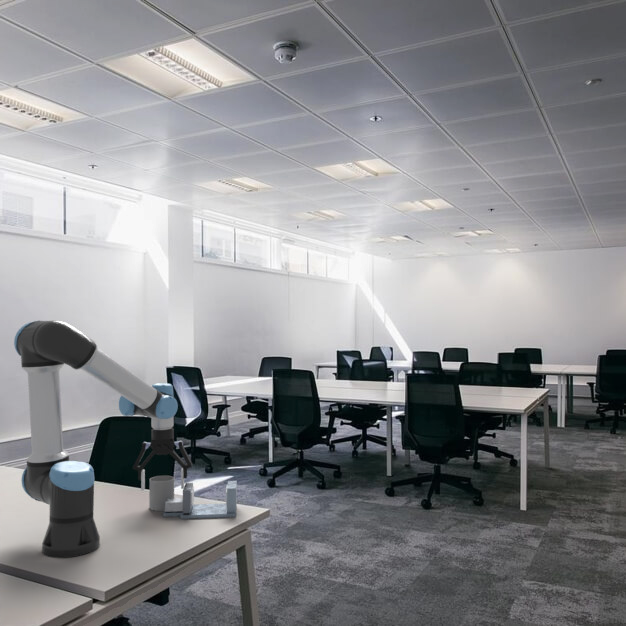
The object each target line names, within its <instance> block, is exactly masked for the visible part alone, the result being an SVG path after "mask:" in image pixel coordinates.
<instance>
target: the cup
mask: <svg viewBox="0 0 626 626" xmlns="http://www.w3.org/2000/svg"><path fill="white" fill-rule="evenodd" d="M148 493H149V498H148V499H149V502H148V503H149V507H148V508H150V509H151V511H153V510H155V511H154V512H163V511H162V510H165V502H166V500H167V498H175V477H174V476H171V475H156V476H153V477H150V478H149V492H148ZM150 509H149V510H150Z"/></svg>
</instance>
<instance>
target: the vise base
mask: <svg viewBox="0 0 626 626" xmlns="http://www.w3.org/2000/svg"><path fill="white" fill-rule="evenodd" d="M237 488H238V487H237V480H228V481H227V484H226V488H225V489H226V490H225V503H199V504H197V503H195V504H194V503H193V506H192V509H191V513H183V511H175V512H165V511H163V518H167V517H169V518H170V517H171V516H175V517H180V520H189V518H198V519H222V518H223V519H224V518H227V519H228V518H236V517H237V503H238V502H237V499H238V498H237V497H238V496H237V494H238V493H237V490H238V489H237ZM171 518H172V517H171Z"/></svg>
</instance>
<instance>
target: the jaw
mask: <svg viewBox="0 0 626 626" xmlns="http://www.w3.org/2000/svg"><path fill="white" fill-rule="evenodd" d="M194 502H195V486H194V483H193V482H186V483H184V488H183V489H182V497H174V498H167V500H166V502H165V512H175V511H183V513H191V509H192V506H193V504H194Z"/></svg>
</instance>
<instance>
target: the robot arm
mask: <svg viewBox="0 0 626 626" xmlns="http://www.w3.org/2000/svg"><path fill="white" fill-rule="evenodd" d="M13 345H14V349H15V351H16V353H17V354H18V355H19V356H20V361H21V362H20V363H21V369H23V370H24V371H25V372H26V373H27V384H28V400H29V401H28V403H29V416H30V417H29V420H30V421H29V422H30V438H31V439H30V440H31V454H30V455H28V457H27V458H26V467H25V469H24V470H23V472H22V474H21V475H22V476H21V487H22V489H23V491H24V492H25V494H27V496H29V497H30V498H31V499H33V500H35V501H36V502H42V503H45V504H47V505H49V519H48V520H49V523H48V525H47V529H46V532H45V535H44V538H43V540H42V544H41V553H42V554H43V555H44V556H47V557H51V558H72V557H77V556H83V555H85V554H89V553H91V552H93V551H95V550H97V549H98V548H99V546H100V545H101V544H100V543H101V541H100V538H101V537H100V534H99V531H98V527H97V525H96V522H95V519H94V512H95V511H94V508H95V507H94V505H95V504H94V503H95V481H96V480H95V472H94V471H95V470H94V468H93V466H92V465H91V464H89V463H88V462H85V461H76V460H70V454H69V452H68V451H66V450H65V449H64V440H63V439H64V438H63V422H62V420H63V419H62V401H61V382H60V381H61V380H60V370H61V369H62V368H63V367H64V365H67V366H69V367H71V368H72V369H74V370H82V371H83V372H85V373H86V374H88V375H90V376H91V377H92V378H94V379H95V380H97V381H99V382H100V383H102V384H103V385H105V386H106V387H108V388H109V389H111V390H112V391H113V392H115V393H117V394H119V395H120V397H119V399H118V409H119V412H120V414H121V415H123V416H125V417H127V416H128V417H134V416H143V417H148V418H151V421H150V422H151V423H150V424H151V428H152V429H151V442H147V441H143V442H142V443H141V450H140V451H139V453H138V456H137V458H136V460H135V461H134V464H133V465H132V470H135V471H137V479H138V481H141V483H140V486H141V487H140V490H141V491H144V490H145V489H146V478H145V477H146V474H145V473H146V470H145V469H144V468H145V467H146V465H147V464H148V463H149V462H150V461H151V459H152V458H153V457H154V456H156V455H158V456H161V455H164V456H166V455H167V456H168V455H169V456H171V457H172V458H173V459H174V460H175V461H176V462H177V463H178V465H179V466H180V467H181V470H180V483H181V484H180V489H182V490H183V489H184V486H185V479H187V477H188V469H190V468H192V467H193V462H192V460H191V458H190V457H189V455H188V453H187V450H186V449H185V447H184V441H183V440H179V441H175V440H174V438H175V436H174V433H175V432H174V431H175V430H174V428H173V427H174V424H175V423H174V416H175V415H176V413H178V409H179V408H178V407H179V405H178V401H177V399H176V398H175V396H174V395H175V394H174V388H173V387H174V386H173V385H172V383H166V382H165V383H153V384H151V385H150V384H149V383H148V382H146V381H145V380H143V379H142V378H140V377H139V376H138V375H137V374H135V373H133V372H132V371H131V370H130V369H127V368H126V367H125V366H124V365H122V364H120V363H119V362H118V361H117V360H115V359H113V358H112V357H111V356H109V355H108V354H107V353H106V352H104V351H102V349H100V348H98V344H97V342H96V341H95V340H93V339H91V338H90V336H89V337H88V336H87V335H86V334H84V333H83V332H82V331H80V329H77V328H76V327H74V326H73V325H71V324H69V323H68V322H64V321H62V320H34V321H30V322H27V323H25V324H24V325H22V326H21V327H20V328H19V329H18V331H17V332H16V334H15V336H14V341H13ZM175 446H176V448H178V449H179V451H180V453H181V455H182V457H183V459H184V460H185V461H184V460H183V459H182V458H181V457H180V456H179V455H178V454H177V452H176V451H175V449H174V448H175ZM149 447H150V448H151V450H152V451H151V452H150V453H149V455H148V456H147V457H146V458H145V460H144V461H143V462H142V463H141V465H140V462H141V461H142V458H143V456H144V454H145V452H146V450H147V449H149Z"/></svg>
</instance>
